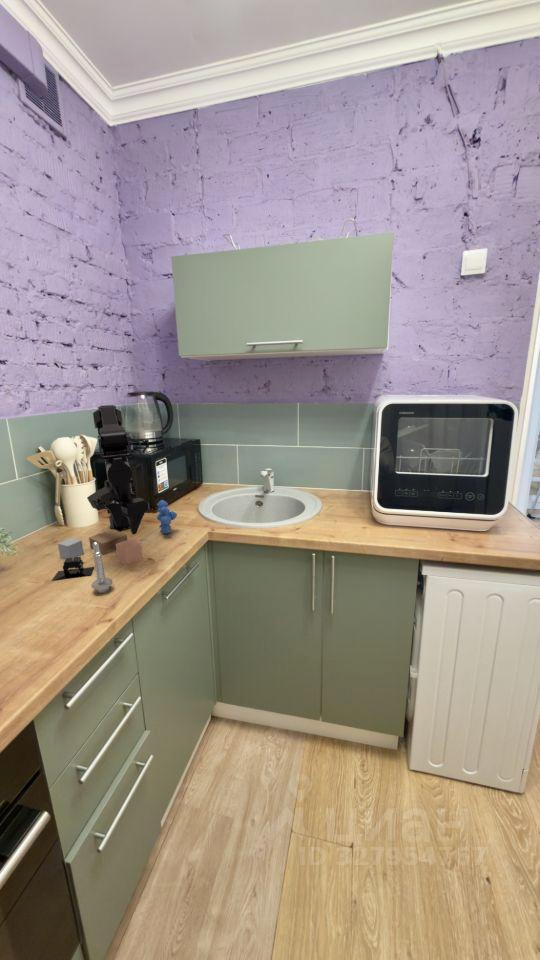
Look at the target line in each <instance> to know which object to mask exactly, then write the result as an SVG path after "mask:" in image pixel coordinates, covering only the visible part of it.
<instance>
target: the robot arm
mask: <svg viewBox="0 0 540 960" xmlns="http://www.w3.org/2000/svg"><path fill="white" fill-rule="evenodd" d="M92 415H93V423H94V429H97V434H98V435H97V441H98V442H97V443H98V448H99V449H98V450H99V453H100V460H104V463H105V470H106V477H107V480H104V486H103V487H102V488H99V489H98V490H97V491H95V492H93V493H91V494H90V495H88V496H87V500H88V502H89V504H90V506H91V507H92V509H95V510H96V511H102V510H103V509H106V510H107V515H109V516H108V519H109V528H110V529H112V530H113V529H114V530H116V531H119V532H121V531H124V530H127V529H129V527H130V532H131V534H132V535H136V534H137V533H138V530H139V528H140V526H141V523H142V520H143V518H144V516H145V513H147V512H148V511H149V510H150V502H149V501H147V500H146V499H144V498H141V497H136V493H135V492H133V490H132V484H134V482H135V481H134V478H132V476H133V472H132V468H131V466H130V464H129V459H128V457H133V453H134V451H135V450H134V446H133V441H132V437H131V436H130V433H129V432H126V429H125V427H124V426H123V425H124V420H123V419H124V418H123V413H122V411H121V410H119V409H117V406H116V405H113V404H108V405H99V406H98V407H97V410H95V411H94V412H92ZM123 529H124V530H123Z"/></svg>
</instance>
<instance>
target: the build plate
mask: <svg viewBox="0 0 540 960" xmlns="http://www.w3.org/2000/svg"><path fill="white" fill-rule="evenodd" d="M94 570H95V566H91V567H90V566H88V567H84V562H83V559H82V557H81V556H79V557H75V558H74V559H73V558H66V559H65V560H64V561H63V565H62V570H58V571H57V572H56V573H55V575H54V576H53V578H52V579H51V582H55V581H63V580H69V579H70V580H72V579H77V578H86V577H92V575H93V572H94Z"/></svg>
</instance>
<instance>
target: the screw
mask: <svg viewBox="0 0 540 960" xmlns="http://www.w3.org/2000/svg"><path fill="white" fill-rule="evenodd" d="M93 549H94V550H93ZM93 549H92V550H93V553H92V554H93V556H92V557H93V559H94V560H93V562H94V570H95V574H96V579H95V580H94V581H92V582H91V585H90V586H91V589H94V590H96V592H97V593H98V594H106V593H107V592H108V591H110V586H111V585H113V583H114V581H113V579H112V578H110V577H106V575H105V567H104V562H103V557H102V556H103V555H102V554H101V552H100V550H99V544H98V543H97V542H94V543H93Z"/></svg>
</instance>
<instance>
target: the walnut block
mask: <svg viewBox="0 0 540 960" xmlns="http://www.w3.org/2000/svg"><path fill="white" fill-rule="evenodd" d="M88 540H89V545H90V546H89V548H90V549H91V550H93V551H94V549H93V543H94V542H97V543H98V544H99V550H100V552H101V555H102V556H106V555H108V554H110V553H114V552H117V550H116V544H117V543H120V542H123V541H126V540H128V535H127V534H126V533H123V532H121V531H117V530H115V529H113V528H112V529H110V530H107V531H103V532H101V533H98V534H95V535H91V536H89V537H88Z"/></svg>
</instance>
